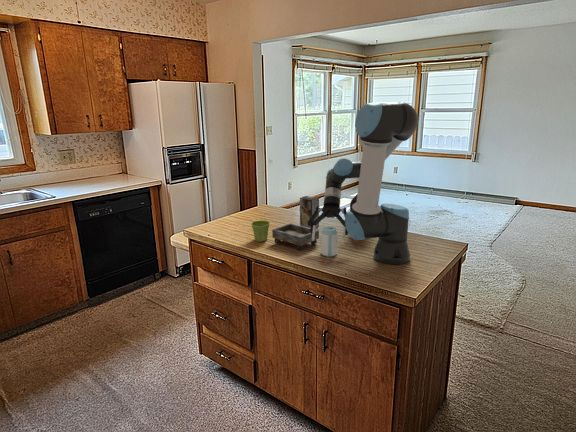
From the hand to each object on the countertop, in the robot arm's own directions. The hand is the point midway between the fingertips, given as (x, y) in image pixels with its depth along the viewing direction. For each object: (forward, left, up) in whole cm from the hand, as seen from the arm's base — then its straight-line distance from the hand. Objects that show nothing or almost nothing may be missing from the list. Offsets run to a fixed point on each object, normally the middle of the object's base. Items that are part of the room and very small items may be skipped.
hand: (328, 240), depth 165 cm
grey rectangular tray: (+20, -1, -6) cm, 21 cm away
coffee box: (+32, -26, -7) cm, 42 cm away
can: (0, 0, -7) cm, 7 cm away
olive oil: (+4, -32, -7) cm, 33 cm away
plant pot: (+37, +6, -7) cm, 38 cm away
